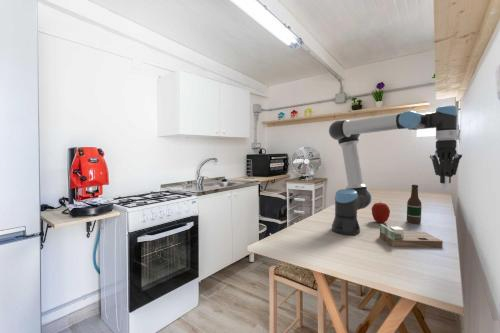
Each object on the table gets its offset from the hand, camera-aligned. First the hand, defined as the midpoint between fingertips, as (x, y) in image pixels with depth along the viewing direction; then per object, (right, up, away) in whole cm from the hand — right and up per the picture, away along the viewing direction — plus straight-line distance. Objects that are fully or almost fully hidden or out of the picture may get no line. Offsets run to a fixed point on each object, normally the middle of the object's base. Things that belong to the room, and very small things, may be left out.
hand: (445, 190), depth 113 cm
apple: (-8, -25, +41) cm, 49 cm away
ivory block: (-18, -24, +9) cm, 31 cm away
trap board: (-11, -27, +9) cm, 30 cm away
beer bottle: (+13, -25, +41) cm, 49 cm away
